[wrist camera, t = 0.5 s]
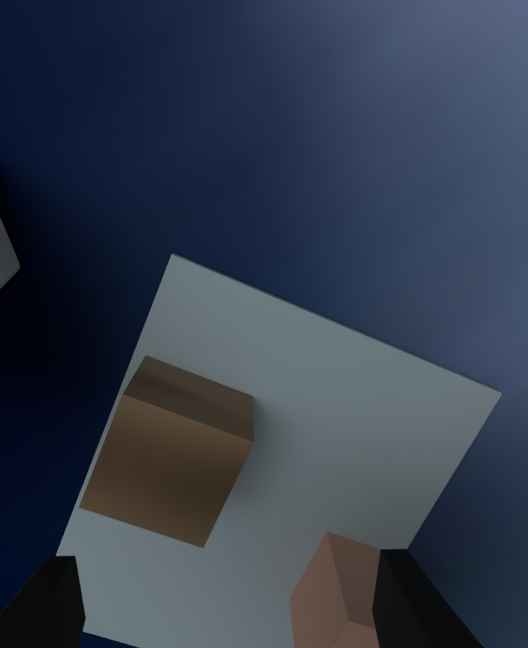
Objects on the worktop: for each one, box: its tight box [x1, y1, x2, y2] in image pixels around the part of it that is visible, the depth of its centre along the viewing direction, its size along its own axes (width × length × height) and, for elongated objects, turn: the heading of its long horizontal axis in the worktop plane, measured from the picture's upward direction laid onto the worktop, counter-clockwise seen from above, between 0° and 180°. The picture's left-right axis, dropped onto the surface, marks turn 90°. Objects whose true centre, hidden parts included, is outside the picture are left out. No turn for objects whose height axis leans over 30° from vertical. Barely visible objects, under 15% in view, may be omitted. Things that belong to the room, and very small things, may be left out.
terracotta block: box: [289, 531, 380, 648], centre depth 21 cm, size 4×4×5 cm
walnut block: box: [79, 355, 254, 548], centre depth 19 cm, size 5×5×4 cm
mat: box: [56, 253, 502, 648], centre depth 23 cm, size 20×16×1 cm
